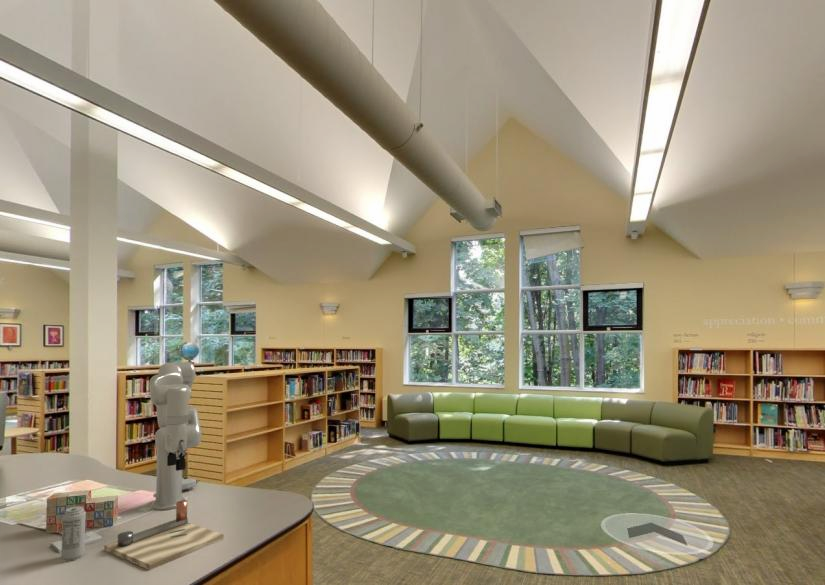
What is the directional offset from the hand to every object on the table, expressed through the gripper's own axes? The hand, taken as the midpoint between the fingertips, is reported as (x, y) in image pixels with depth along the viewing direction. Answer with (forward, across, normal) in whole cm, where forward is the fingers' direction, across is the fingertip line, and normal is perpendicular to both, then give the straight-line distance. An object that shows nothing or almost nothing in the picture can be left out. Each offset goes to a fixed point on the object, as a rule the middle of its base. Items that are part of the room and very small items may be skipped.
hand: (176, 467), depth 189 cm
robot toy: (+20, -40, +16) cm, 48 cm away
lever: (+18, +10, -10) cm, 23 cm away
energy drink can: (+20, +7, -33) cm, 40 cm away
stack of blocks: (+20, -20, -25) cm, 38 cm away
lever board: (+20, +18, -9) cm, 28 cm away
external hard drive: (+21, -5, -30) cm, 37 cm away
